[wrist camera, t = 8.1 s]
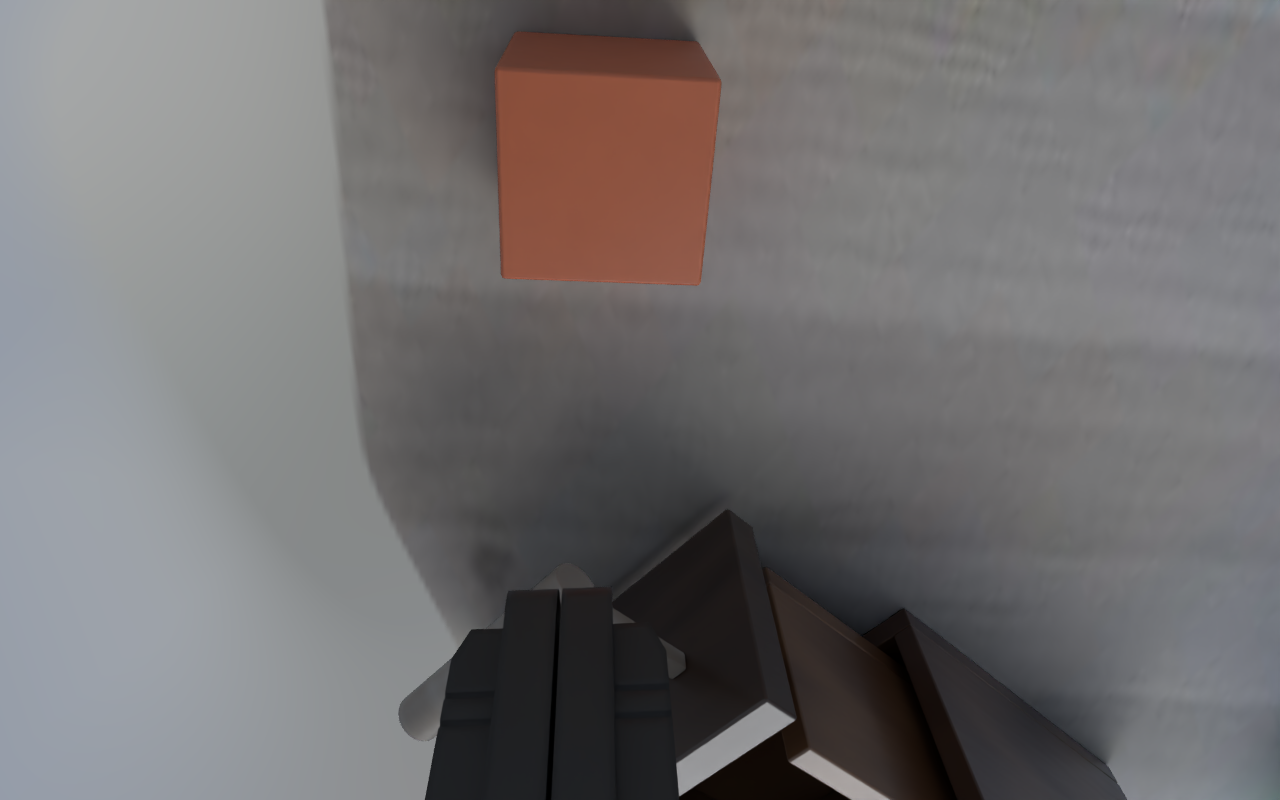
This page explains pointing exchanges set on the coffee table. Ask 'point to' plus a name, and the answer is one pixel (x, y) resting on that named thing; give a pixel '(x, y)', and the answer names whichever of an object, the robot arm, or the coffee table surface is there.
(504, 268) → the block
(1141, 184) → the coffee table surface
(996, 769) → the cabinet
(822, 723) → the drawer
